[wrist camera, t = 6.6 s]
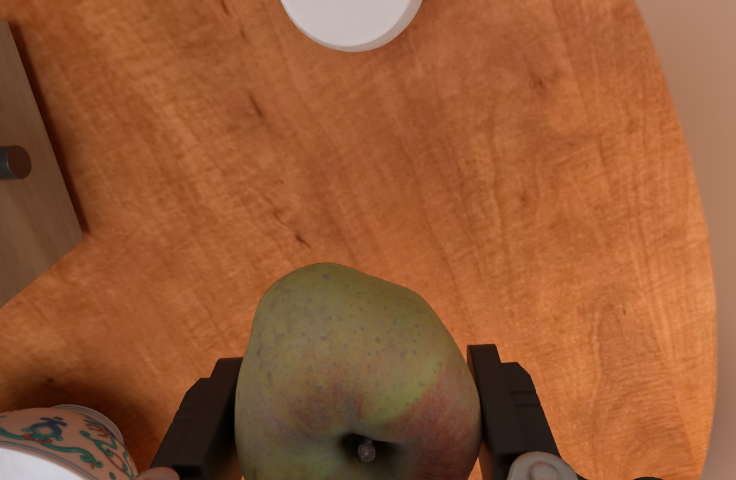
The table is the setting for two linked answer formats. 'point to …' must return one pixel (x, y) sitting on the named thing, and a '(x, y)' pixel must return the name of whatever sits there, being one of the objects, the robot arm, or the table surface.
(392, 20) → the pill bottle
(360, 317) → the apple
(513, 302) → the table surface
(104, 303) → the table surface
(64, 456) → the chinaware
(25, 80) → the drawer
